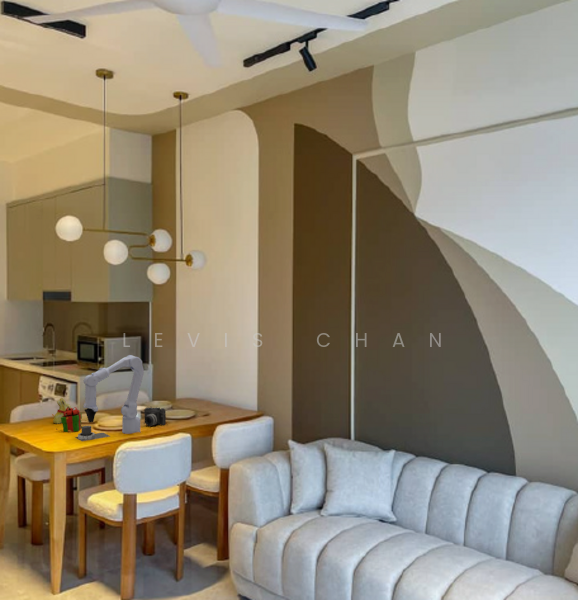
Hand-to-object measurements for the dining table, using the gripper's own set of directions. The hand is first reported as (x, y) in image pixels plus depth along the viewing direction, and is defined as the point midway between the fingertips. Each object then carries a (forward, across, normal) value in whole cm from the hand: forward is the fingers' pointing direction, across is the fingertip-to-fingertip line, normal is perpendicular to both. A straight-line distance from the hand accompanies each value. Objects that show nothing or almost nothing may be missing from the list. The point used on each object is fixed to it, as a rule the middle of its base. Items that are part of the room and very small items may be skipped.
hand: (90, 422), depth 321 cm
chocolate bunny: (+10, -47, +1) cm, 48 cm away
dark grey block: (+8, 0, -2) cm, 9 cm away
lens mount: (+9, 0, +1) cm, 9 cm away
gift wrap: (+9, -20, -4) cm, 22 cm away
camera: (+10, -9, +41) cm, 43 cm away
